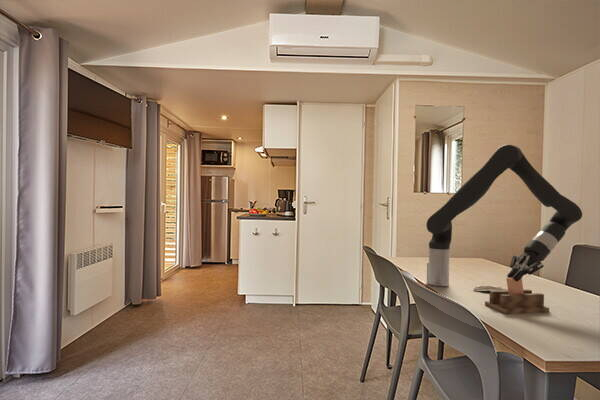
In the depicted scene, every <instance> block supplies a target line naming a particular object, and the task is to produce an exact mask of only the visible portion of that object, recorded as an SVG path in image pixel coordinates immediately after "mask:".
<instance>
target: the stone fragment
mask: <svg viewBox="0 0 600 400" xmlns="http://www.w3.org/2000/svg"><path fill="white" fill-rule="evenodd" d="M500 290H508V288H503V287H502V286H501V287H500V286H498V287H497V286H490V285H481V286H475V287H474V288H473V292H488V291H489V292H490V291H500Z"/></svg>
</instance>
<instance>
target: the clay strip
mask: <svg viewBox="0 0 600 400" xmlns="http://www.w3.org/2000/svg"><path fill="white" fill-rule="evenodd" d="M506 285H507V290H508V294H524V291H523V290H524V286H523V285H524V284H523V277H522V278H521V279H520V280H519V281H518V282H517V281H515V280H514V279H513V277H506Z"/></svg>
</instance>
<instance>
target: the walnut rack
mask: <svg viewBox="0 0 600 400" xmlns="http://www.w3.org/2000/svg"><path fill="white" fill-rule="evenodd" d="M523 291H524V294H508V289H507V290H500V291H489V300H488V301H487V300H486V301H484V306H486V307H488V308H490V309H493V310H495V311H497V312H500V313H502V314H504V315H515V314H517V315H518V314H534V313H535V314H536V313H540V314H541V313H549V312H550V307H547V306H545V294H544V293H542V292H541V293H540V292H539V293H538V292H537V293H535V292H534V293H533V291H532V289H527V288H526V289H523Z"/></svg>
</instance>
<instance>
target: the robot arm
mask: <svg viewBox="0 0 600 400" xmlns="http://www.w3.org/2000/svg"><path fill="white" fill-rule="evenodd" d="M508 169H509V170H511V171H512V172H513V173H514V174H516V175H517V176H518V177H519V178H520V179H521V180H522V182H523V183H524V184H525V186H526V187H527V189H529V191H530V192H531V193H532V195H533V196H534V197H535V198H536V199H537V200H538V201H539V202H540V203H541V204H542V205H543V206H544V207H545V208H546V207H547V208H553V209H554V210H555V213H554V214H552V216H551V217H550V219H549V220H548V221H547V223H546V224H545V225H544V226H543V227H542V228H541V229H540V231H539V232H538V233H537V234H535V235H534V236H533V237H532V239H531V240H530V241H529V242H528V243H527V244H526V245H525V246H524V248H523V253H521V254H520V255H519V256H516V255H513V256H512V257H511V261H510V263H509V267H510V268H511V270H510V271H509V272H508V274H507V275H506V278H508V277H513V279H514V280H515V281H517V282H518V281H519V280H520V279H521V278H522V279H523V277H524V276H526V275H528V276H531V275H532V274H534V273H536V272H538V271H539V270H541V269H543V268H544V267H545V266H544V264H543V263H542V262H543V261H545V260H546V258H548V256H550V254H551V253H552V252H553V251H554V249H555V248H556V247H557V245H558V243H559V242H560V241H561V240H562V239H563V238H564V236H565V235H566V231H567V230H568V229H569V228H570V227H571V226H572V225H574V224H575V223H577V222H578V221H580V220H581V219H582V217H583V211H582V210H581V208H580V206H579V205H577V204H576V202H574V201H572V200H570V199H569V198H568V197H566V196H565V195H562V194H561V193H560V192H559V191H558V190H557V189H556V188H555V187H554V186H553V185H552V184H551V183H550V182H549V181H548V180H547V179H545V177H544V176H542V175H541V174H540V173H539V172H538V170H536V169H535V167H533V165H532V164H531V162H529V160H528V159H527V157H526V156H525V155H524V153H523V152H522V150H521V148H519V147H518V146H516V145H512V144H504V145H501V146H499V147H498V148H497V149H496V150H495V152H493V154H492V155H491V157H490V158H489V159H488V160H487V162H486V163H485V164H484V165H483V166H482V167H481V168H480V169H479V170H478V171H477V172H475V173H474V174H473V175H472V176H471V177H470V178H469V179H468V180H466V181H465V183H464V184H463V185H462V186H461V187H460V188H458V190H457V191H456V192H455V193H454V194H453V195H452V196H451V198H449V200H448V201H446V203H445V204H444V205H443V206H441V208H439V209H438V210H437V211H435V212H434V213H433V214H432V215H430V217H428V218H427V221H426V225H425V226H426V230H427V231H428V232H429V233H430V234H432V236H431V237H432V238H431V239H430V241H429V242H428V262H427V263H426V283H427V284H428V285H431V286H435V287H448V286H450V254H451V253H450V251H451V249H450V246H451V243H452V237H453V236H452V234H453V222H452V221H453V220H454V219H455V218H456V217H457V216H459V215H460V214H462V213H463V212H465V211H467V210H468V209H469V208H471V207H473V206H474V205H475V204H476V203H477V202H479V200H480V199H482V198H483V197H484V196H485V195H486V194H487V192H488V191H489V189H490V188H491V186H492V185H493V184H494V182H495V180H496V179H497V178H498V177H500V176H502V174H503V173H504V172H505V171H507V170H508Z"/></svg>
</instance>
